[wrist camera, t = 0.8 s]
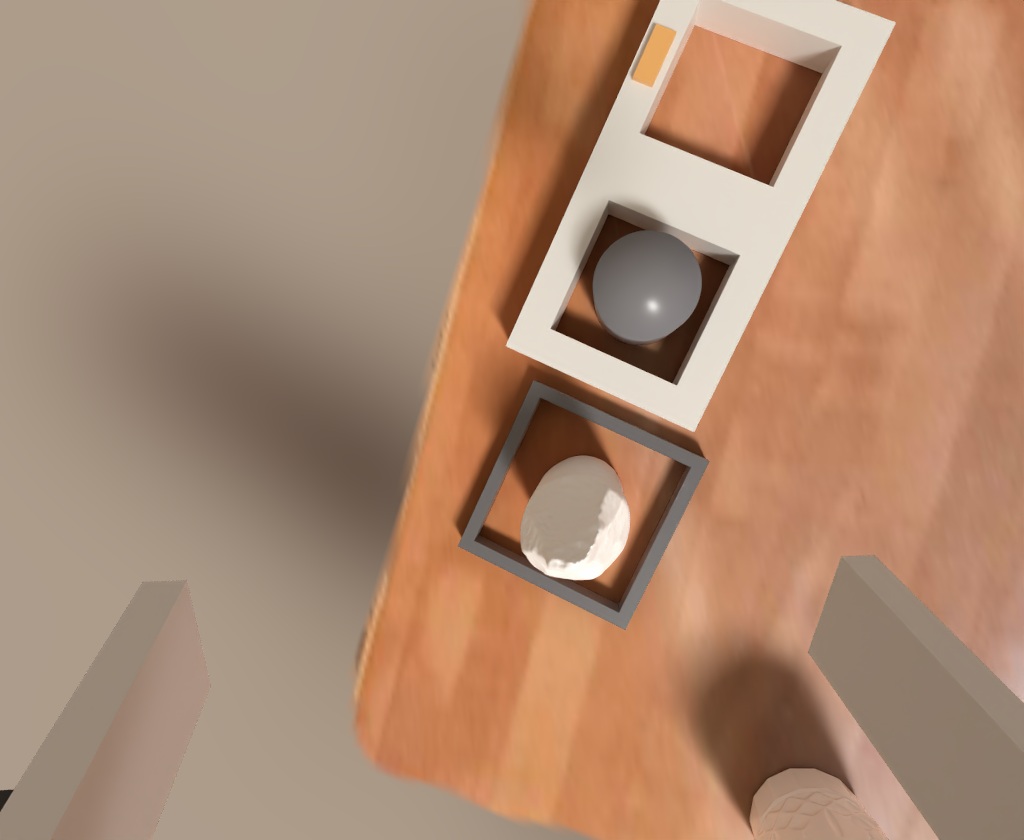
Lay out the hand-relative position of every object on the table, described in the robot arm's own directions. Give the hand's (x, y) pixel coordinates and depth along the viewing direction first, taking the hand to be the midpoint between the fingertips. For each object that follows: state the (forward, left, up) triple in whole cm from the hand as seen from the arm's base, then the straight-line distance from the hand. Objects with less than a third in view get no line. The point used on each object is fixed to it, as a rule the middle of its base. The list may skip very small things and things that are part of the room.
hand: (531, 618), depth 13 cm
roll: (-1, +2, -27) cm, 28 cm away
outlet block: (+1, -17, -27) cm, 32 cm away
